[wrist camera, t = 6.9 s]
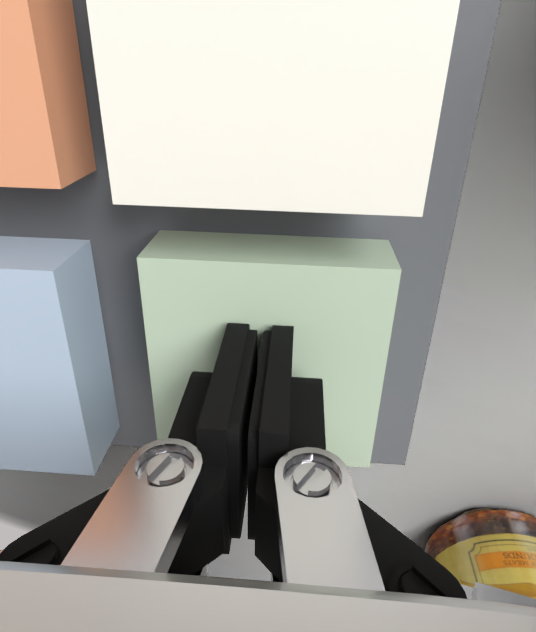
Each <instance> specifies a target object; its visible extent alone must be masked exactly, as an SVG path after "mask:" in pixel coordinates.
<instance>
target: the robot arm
mask: <svg viewBox="0 0 536 632" xmlns="http://www.w3.org/2000/svg"><path fill="white" fill-rule="evenodd" d="M293 334H294V326H280V325H273V326H272V331H268V330H264V332H263V339H262V345H261V351H260V358H259V364H258V371H257V343H258V332H257V330H250V325H249V324H242V323H227V326H226V330H225V333H224V336H223V340H222V343H221V346H220V350H219V353H218V357H217V360H216V363H215V367H214V370H213V372H198V371H193V372H192V373H191V375H190V378H189V381H188V383H187V386H186V389H185V392H184V394H183V397H182V400H181V403H180V405H179V408H178V411H177V414H176V416H175V419H174V422H173V425H172V427H171V430H170V433H169V436H168V438H166V439H160V440H155V441H153V442H150V443H147V444H145V445H144V446H142V447H141V448H139V449H138V450H137V451H136V452H135V453H134V454H133V455H132V456H131V457H130V459H129V460H128V462H127V464H126V465H125V467H124V468H123V470H122V471H121V473H120V474H119V476H118V477H117V479H116V480H115V482H114V484H113V485H112V487H111V488H110V489H109V490H107V491H105V492H103V493H101V494H100V495H98V496H96V497H94V498H92V499H90V500H88V501H86V502H85V503H83V504H81V505H79V506H77V507H75V508H73V509H71V510H70V511H68V512H66V513H64V514H62V515H60V516H58V517H56V518H55V519H53V520H51V521H49V522H47V523H45V524H43V525H41V526H40V527H38V528H36V529H34V530H32V531H30V532H28V533H27V534H25V535H23V536H21V537H20V538H18V539H17V540H15V541H14V542H12V543H11V544H9V545H8V546H7V547H6V548H5V549H4V550H0V632H536V599H534V598H531V597H527V596H524V595H520V594H517V593H513V592H510V591H506V590H503V589H499V588H496V587H492V586H489V585H485V584H482V583H478V582H476V583H475V586H474V588H473V587H469V586H466V585H462V584H460V583H459V581H458V580H457V578H456V577H455V576H454V575H453V574H452V573H451V572H450V571H449V570H448V569H446V568H445V567H444V566H443V565H441V564H440V563H439V562H438V561H436V560H435V559H434V558H433V557H431V556H430V555H429V554H428V553H426V552H425V551H424V550H422V549H421V548H420V547H419V546H417V545H416V544H415V543H414V542H412V541H411V540H410V539H409V538H407V537H406V536H405V535H403V534H402V533H401V532H400V531H398V530H397V529H396V528H395V527H393V526H392V525H391V524H390V523H388V522H387V521H386V520H384V519H383V518H382V517H381V516H379V515H378V514H377V513H376V512H374V511H373V510H372V509H371V508H369V507H368V506H367V505H366V504H364V503H363V502H362V501H360V500H359V499H358V498H357V495H356V492H355V488H354V485H353V482H352V478H351V475H350V472H349V470H348V468H347V466H346V464H345V463H344V462H343V461H342V460H341V459H340V458H339V457H338V456H336V455H335V454H333V453H331V452H329V451H327V450H326V438H325V418H324V398H323V381H322V379H320V378H303V377H292V356H293ZM247 488H248V539H253V540H255V556H256V557H257V558H258V559H259V560H260V561H261V562H262V563H263V564H264V565H265V566H266V568H267V569H268V570H269V571H270V572H271V582H270V581H258V580H245V579H233V578H220V577H208V576H207V575H208V569H209V563H210V562H212V561H213V560H214V559H216V558H217V557H219V556H220V555H221V554H229V551H230V544H231V538H240V537H241V532H242V524H243V517H244V510H245V502H246V495H247Z"/></svg>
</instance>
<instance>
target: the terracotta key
mask: <svg viewBox="0 0 536 632" xmlns="http://www.w3.org/2000/svg"><path fill="white" fill-rule="evenodd" d="M94 171H96V164H95V157H94V150H93V143H92V136H91V129H90V122H89V115H88V108H87V101H86V94H85V87H84V80H83V73H82V66H81V59H80V52H79V45H78V37H77V30H76V23H75V16H74V9H73V2H72V0H0V187H18V188H43V189H62V188H64V187H66V186H68V185H70V184H72V183H73V182H75V181H77V180H79V179H81V178H83V177H85V176H86V175H88V174H90V173H92V172H94Z"/></svg>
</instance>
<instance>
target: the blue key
mask: <svg viewBox="0 0 536 632" xmlns="http://www.w3.org/2000/svg"><path fill="white" fill-rule="evenodd" d="M119 427H120V425H119V419H118V413H117V406H116V400H115V394H114V387H113V381H112V375H111V369H110V362H109V356H108V350H107V344H106V337H105V331H104V325H103V319H102V312H101V306H100V300H99V293H98V287H97V281H96V275H95V268H94V262H93V256H92V250H91V243H90V240H80V239H57V238H35V237H13V236H0V469H7V470H20V471H34V472H48V473H62V474H76V475H90V476H95V474H96V472H97V470H98V468H99V466H100V464H101V462H102V460H103V458H104V456H105V454H106V452H107V450H108V448H109V446H110V445H111V443H112V441H113V439H114V437H115V435H116V433H117V431H118V429H119Z"/></svg>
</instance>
